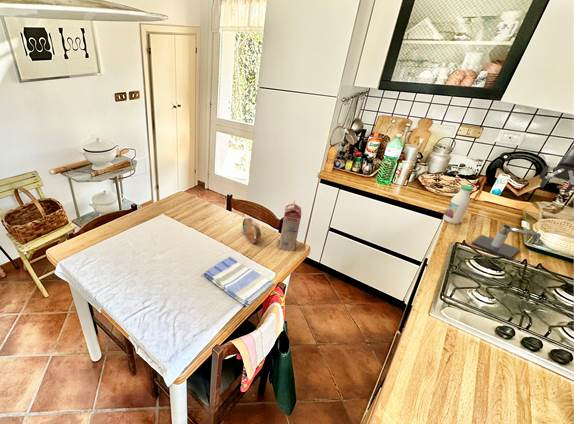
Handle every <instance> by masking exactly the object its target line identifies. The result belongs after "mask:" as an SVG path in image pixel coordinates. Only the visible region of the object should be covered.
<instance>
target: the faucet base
mask: <svg viewBox="0 0 574 424" xmlns="http://www.w3.org/2000/svg"><path fill="white" fill-rule="evenodd" d="M508 236H509V234H508V235H503V234H501V233H499V230H498V231H497V232H496V234H495V236H494V238H492V237H489V236H486V235H484V234H481V235H480V236H478V238H476V239H475V240H474V241H472V242H471V245H472V246H474V247H476V248H480V249H482V250H485V251H487V252H489V253H492V254H494V255H497V256H499V257H502V258H504V257H505V259H507V258H508V259H507V260H509V259H510V260H511V259H512V258H513V257H514V256H515V255H516V254H517V253H518V252H519V251H520V248H518V247H515V246H514V245H510V244H508V243H506V242H505V241H506V240H507V238H508Z"/></svg>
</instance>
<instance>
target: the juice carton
mask: <svg viewBox="0 0 574 424" xmlns="http://www.w3.org/2000/svg"><path fill="white" fill-rule="evenodd" d="M295 201H296V200H295V199H294V201H293V203H289V204H286V205H285V208H284V215H283V220H282V225H281V226H282V227H281V232H280V237H279V238H280V239H279V246H278V248H279V249H282V250H286V251H287V250H288V251H293V252H294V251H295V249H296V243H297V240H298V234H299V229H300V224H301V219H302V207H301V206H299V205H297V204H296V203H295Z"/></svg>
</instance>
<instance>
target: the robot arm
mask: <svg viewBox="0 0 574 424" xmlns="http://www.w3.org/2000/svg"><path fill="white" fill-rule="evenodd" d="M551 171H552V172H551ZM549 172H551V173H550V174H548V175H546V174H547V173H549ZM553 179H559V180H563V181H567V184H568V185H567V187H566V188H565V189H564V190H563V194H569V193H570V192H571V190H572V189H573V188H574V144H572V146H571V147H570V149H568V151H567V152H566V153H565V155H563V157H562V158H561V159H560V161H559V162H558V164H557V165H556V166H554V167H552V166H550V165H545V167H544V168H543V170H542V171H541V173H540V174H539V180H541V182H540V183H539V186H540V188H541V189H542V188H544V187H545V185H546V184H547V183H548V181H550V180H553Z"/></svg>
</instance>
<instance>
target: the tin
mask: <svg viewBox="0 0 574 424" xmlns="http://www.w3.org/2000/svg"><path fill="white" fill-rule="evenodd" d="M242 231H243V234H244V235H245V236H246V238H247V239H248V240H249V241H250V243H252V244H256V243H259V242H260V240H261V236H262V231H261V228H260V227H259V225H258V224H257V223H256V222H255V221H254V220H253V219H252V218H249V217H247V218H244V219H243V220H242Z"/></svg>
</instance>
